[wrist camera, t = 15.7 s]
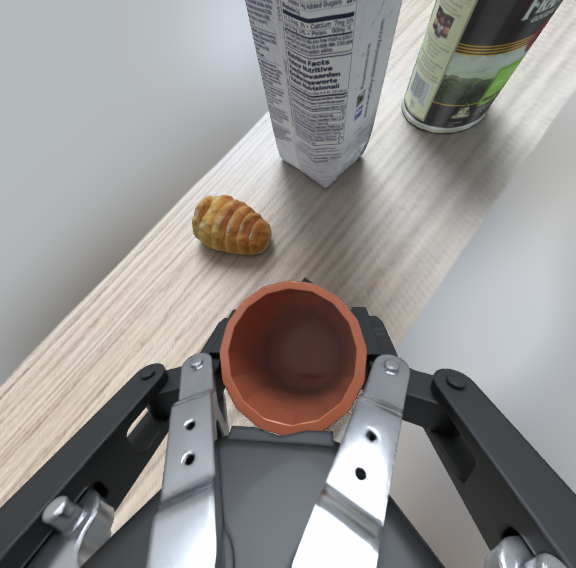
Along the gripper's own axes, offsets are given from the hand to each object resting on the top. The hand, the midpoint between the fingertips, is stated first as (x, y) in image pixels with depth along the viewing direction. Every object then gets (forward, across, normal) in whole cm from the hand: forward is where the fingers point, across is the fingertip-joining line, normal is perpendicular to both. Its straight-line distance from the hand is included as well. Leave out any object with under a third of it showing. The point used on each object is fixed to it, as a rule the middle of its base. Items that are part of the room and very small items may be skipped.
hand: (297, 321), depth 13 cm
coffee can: (+28, -18, -14) cm, 36 cm away
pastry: (+16, +9, -2) cm, 19 cm away
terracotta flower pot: (+2, 0, +4) cm, 5 cm away
